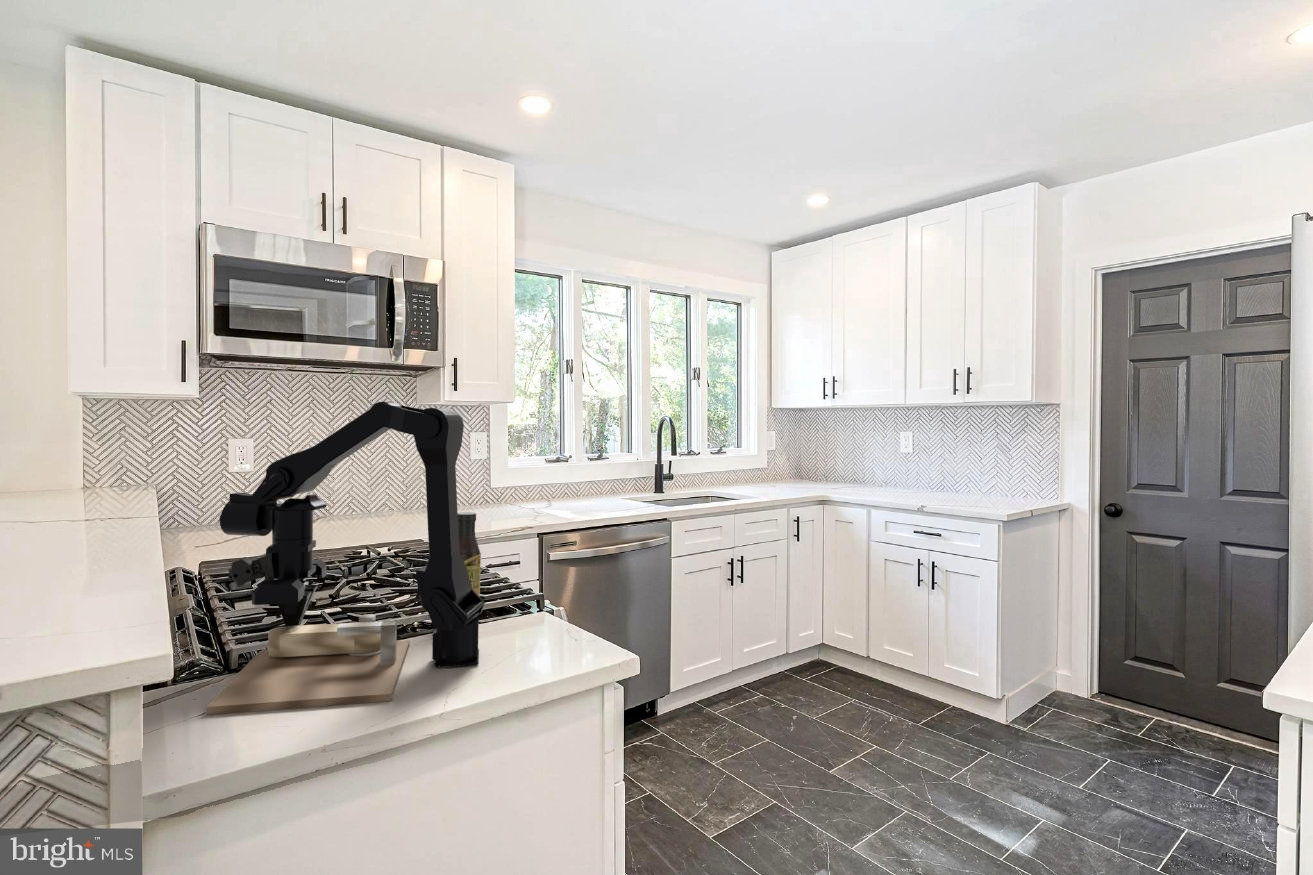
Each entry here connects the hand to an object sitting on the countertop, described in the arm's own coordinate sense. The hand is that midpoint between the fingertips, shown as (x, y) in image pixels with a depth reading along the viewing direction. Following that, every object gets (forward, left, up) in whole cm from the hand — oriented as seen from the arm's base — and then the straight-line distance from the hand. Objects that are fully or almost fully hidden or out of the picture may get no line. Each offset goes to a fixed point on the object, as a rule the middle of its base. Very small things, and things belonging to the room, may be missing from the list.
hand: (292, 633), depth 108 cm
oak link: (-6, +4, -1) cm, 8 cm away
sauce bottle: (-26, -16, -3) cm, 30 cm away
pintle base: (-7, +11, -3) cm, 14 cm away
